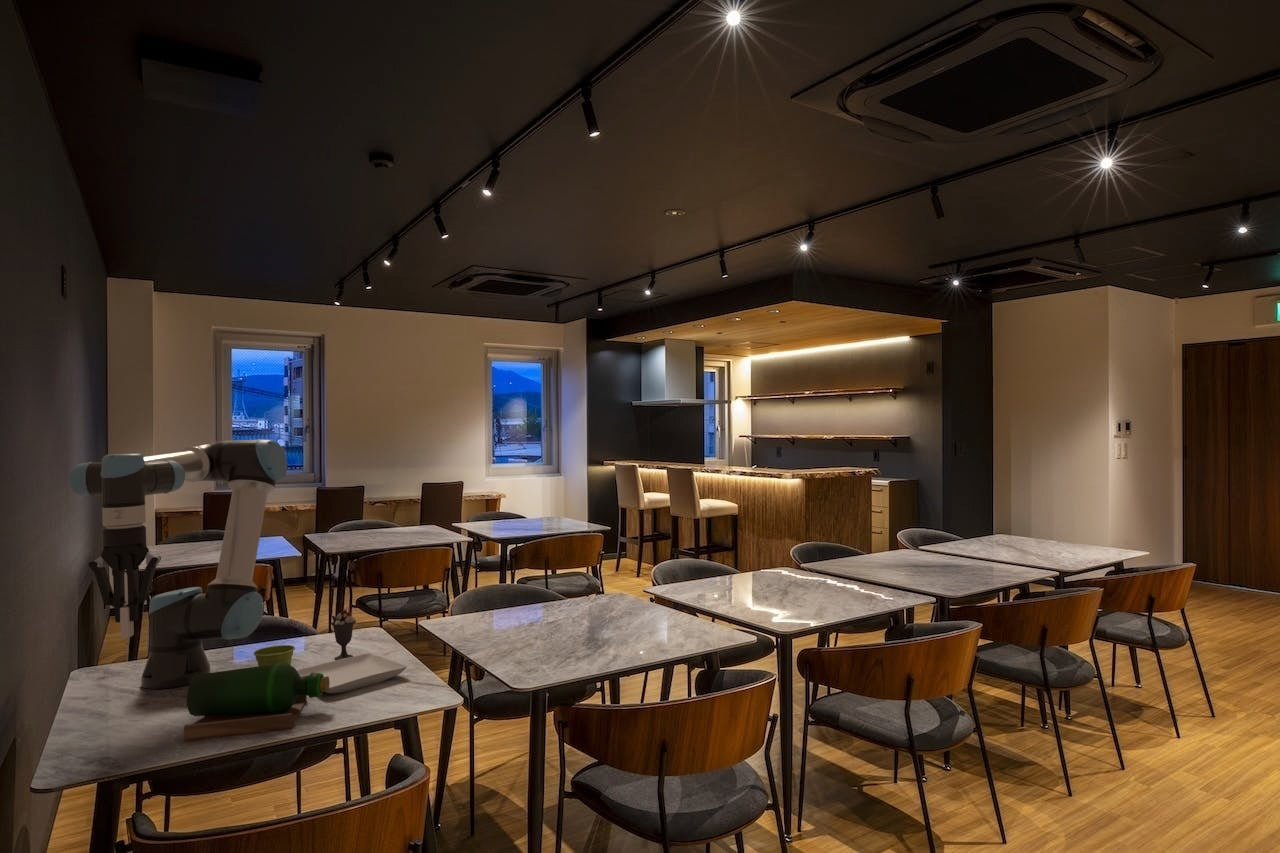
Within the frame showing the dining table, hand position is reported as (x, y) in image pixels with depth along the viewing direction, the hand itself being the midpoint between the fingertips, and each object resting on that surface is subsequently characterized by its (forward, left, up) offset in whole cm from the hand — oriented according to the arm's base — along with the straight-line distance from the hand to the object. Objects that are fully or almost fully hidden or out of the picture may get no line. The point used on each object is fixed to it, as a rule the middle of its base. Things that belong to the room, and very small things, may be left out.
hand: (127, 636), depth 154 cm
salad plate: (-21, +42, -21) cm, 51 cm away
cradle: (+1, +24, -20) cm, 31 cm away
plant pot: (-24, +24, -20) cm, 39 cm away
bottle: (-3, +11, -15) cm, 19 cm away
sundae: (-43, +38, -20) cm, 61 cm away
